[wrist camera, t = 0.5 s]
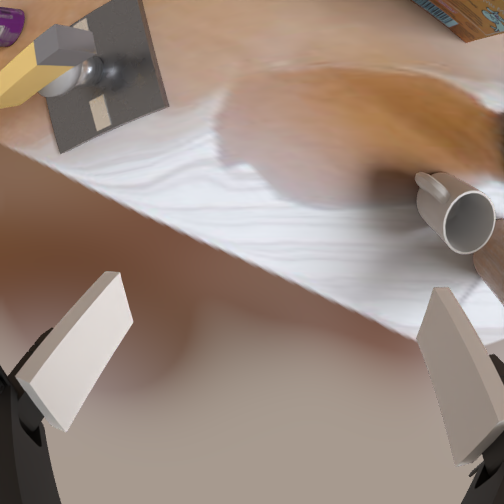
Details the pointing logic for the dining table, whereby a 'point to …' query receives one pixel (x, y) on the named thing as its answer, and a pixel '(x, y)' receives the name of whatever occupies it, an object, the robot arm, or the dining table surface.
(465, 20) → the milk carton
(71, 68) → the handle
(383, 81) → the dining table surface
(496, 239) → the planter
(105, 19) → the post base
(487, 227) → the grey cup
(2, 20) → the beverage can
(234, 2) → the dining table surface
